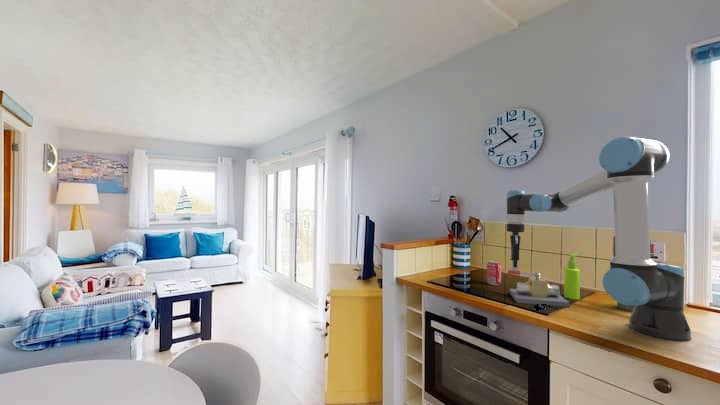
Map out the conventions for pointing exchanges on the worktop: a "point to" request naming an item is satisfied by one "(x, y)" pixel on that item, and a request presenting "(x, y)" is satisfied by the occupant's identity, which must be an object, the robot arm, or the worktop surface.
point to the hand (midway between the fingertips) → (514, 273)
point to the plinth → (539, 299)
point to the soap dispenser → (572, 279)
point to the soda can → (493, 273)
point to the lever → (524, 273)
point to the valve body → (538, 288)
